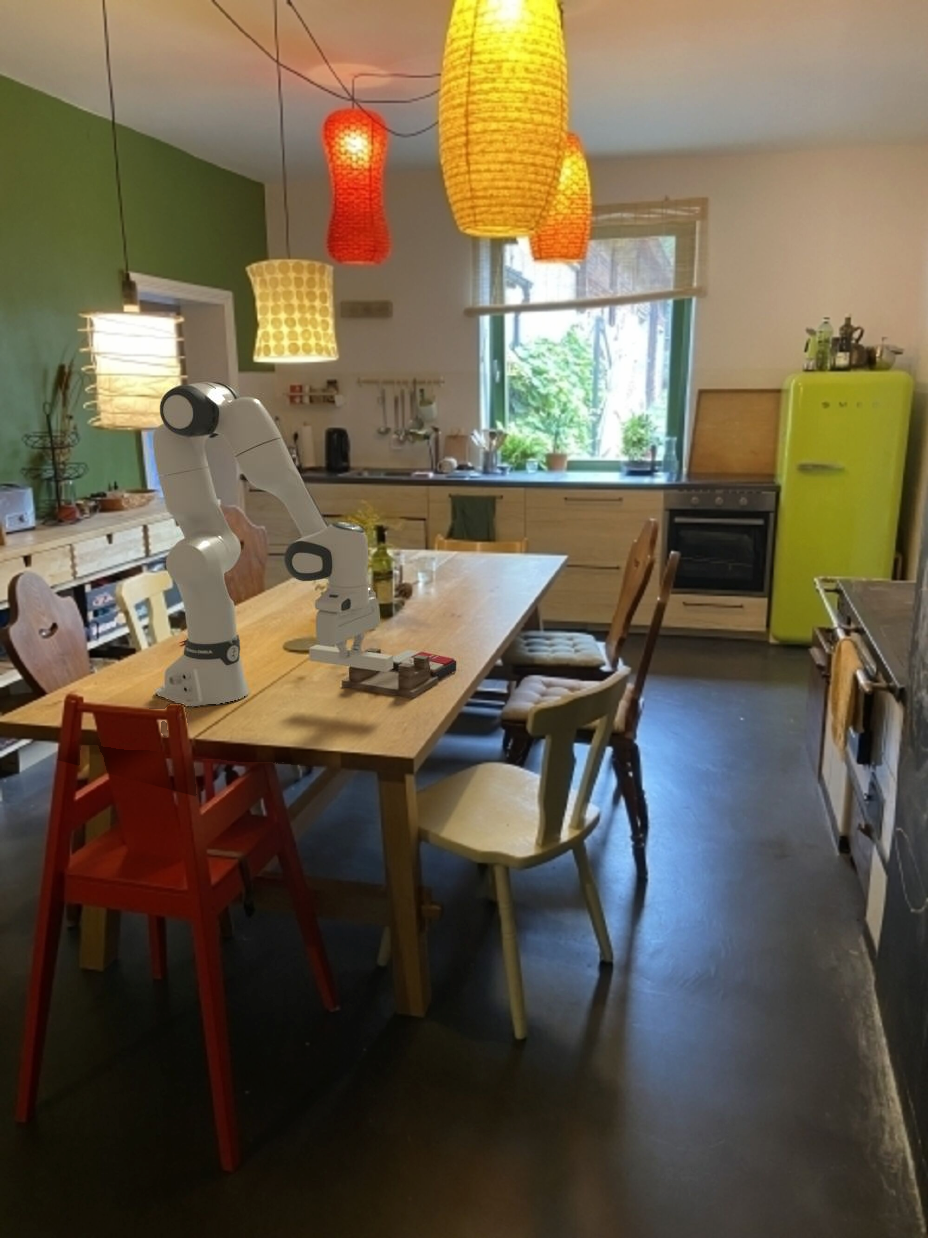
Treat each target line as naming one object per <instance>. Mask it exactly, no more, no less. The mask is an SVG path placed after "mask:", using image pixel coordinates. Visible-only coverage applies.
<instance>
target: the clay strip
mask: <svg viewBox="0 0 928 1238" xmlns="http://www.w3.org/2000/svg"><path fill="white" fill-rule="evenodd" d="M308 650H309V651H308V652H309V653H308V654H309V662H317V663H323V664H331V665H335V666H337V665H338V666H342V667H343V666H344V667H348V668H349V667H356V668H363V669H369V670H376V671H383V672H388V671H389V670H391V669H393V657H394V655H392V654H387V653H381V654H380V653H372V652H365V650H364V651H363V650H361V651H358V650H351V648H347V650H350V657H349V658H346V659H341V658H340V655H339V650H338V648H337V646H332V647H329V646H323V645H320V644H315V645H312V646H311V647H309V648H308Z"/></svg>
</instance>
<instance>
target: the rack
mask: <svg viewBox="0 0 928 1238" xmlns="http://www.w3.org/2000/svg"><path fill="white" fill-rule="evenodd" d="M364 651H365V652H372V653H380V654H382V653H381V651H382V650H381V649H380V648H373V647H369V648H367V649H365V650H364ZM437 684H439V680H438V677H433V676H430V661H429V656H423V655H417V656H415V657H414V664H409V663H402V664H400V665H398V671H395V670H389V671H388V672H383V671H376V670H369V669H363V668H356V667H349V666H348V677H346V678H343V679H342V680H341V686H342V687H344V688H349V689H351V688H352V689H355V690H362V691H368V692H374V693H378V694H379V693H380V694H384V695H385V694H386V695H392V696H397V697H404V698H410V699H414V698H416V697H417V696H419V695H421V694H423V693H425V692H426V691H427V690H429V689H430V688H432V687H435V685H437Z"/></svg>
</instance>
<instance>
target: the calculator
mask: <svg viewBox="0 0 928 1238" xmlns="http://www.w3.org/2000/svg"><path fill="white" fill-rule="evenodd" d="M417 655H423V656H429V661H430V676H433V677H438V681H441V680H442V679H444V678H446V677H448V676H449V675H451V674H453V673H454V671H455V670H456V671H457V660H455V659H454V658H453V657H449V656H444V655H438V654H433V653H430V652H425V651H417V650H412V649H407V650H404V651H403V652H400V653H398V654H396V655H393V669H391V670H395V671H398V665H400V664H402V663H409V664H414V657H415V656H417ZM456 671H455V672H456ZM452 672H453V673H452ZM450 673H451V674H450ZM445 676H446V677H445Z"/></svg>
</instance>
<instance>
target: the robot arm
mask: <svg viewBox="0 0 928 1238" xmlns="http://www.w3.org/2000/svg"><path fill="white" fill-rule="evenodd" d="M159 414H160V418H161V421H162V424H160V425H158V426H157V427H156V428H155V430H154V431H153V433H152V447H153V448H152V449H153V457H154V462H155V463H154V464H155V466H156V467H155V468H156V473H157V476H158V481H159V484H160V489H161V492H162V496H163V499H164V502H165V507H166V509H167V512H168V513H169V515H171V516H172V517H173V518H174V520H175V521H176V523H177V525H178V526H179V529H180V530H181V533H182V535H183V538H182V539H180V540H178V542H176V544H175V545H174V546H172V548H171V549H170V551H169V552H168V554H167V556H166V560H165V565H166V566H165V567H166V572H167V573H168V575H169V577H170V578H171V579H172V581H173V582H175V584H176V586H177V589H178V591H179V595H180V597H181V600H182V603H183V609H184V612H185V613H184V614H185V622H186V630H187V638H186V639H185V640H182V641H179V643H178V644H180V645H179V647H180V648H181V647H184V648H183V654H182V655H180V656H179V657H178V658H177V659H176V660H175V661H174V662H172V663H171V664H170V665H169V666H168V667H167V668H166V670H165V672H164V684H163V685H161V686H159V687H158V688H157V689H156V690H155V691H154V695H155V694H157V695H160V696H163V697H165V698H168V699H171V700H174V701H175V702H174V703H176V704H178V703H184V705H185V707H187V706H186V705H188V706H198V705H203V706H205V705H204V704H216V705H221V704H220V703H223V704H226V703H225V702H229V703H231V702H230V701H233V702H235V701H234V700H236V701H239V700H241V699H243V698H244V696H245V697H246V696H248V695H249V693H250V690H249V687H248V682H247V679H246V678H245V674H244V667H243V663H242V658H241V655H240V654H241V640H240V636H239V634H238V632H237V631H238V630H237V629H238V628H237V621H236V620H237V619H236V618H237V617H236V608H235V602H234V601H233V599H232V598H231V597H230V595H229V593H228V589H227V586H226V581H225V573H227V572H228V571H230V570H231V569H233V568H234V566H235V565H236V564H237V562H238V560H239V557H241V553H242V545H241V541H240V540H239V538H238V537H237V535H236V534H235V532H233V531H232V529H231V528H230V525H229V522H228V521H227V519H226V517H225V515H224V513H223V510H222V508H221V506H220V503H219V501H218V498H217V495H216V490H215V486H214V483H213V482H214V481H213V477H212V474H211V469H210V466H209V464H208V463H209V462H208V459H207V456H206V455H207V454H206V449H205V447H206V445H205V444H206V441H207V440H208V438H210V439H213V438H216V437H217V436H219V435H220V436H221V437H222V438H223V439H225V441H226V442H227V444H228V446H229V448H230V451H231V452H232V455H233V457H234V458H235V462H236V464H237V465H238V468H239V469H240V471H241V473H242V474H243V476H244V478H246V480H247V481H248V482H249V484H250V485H251V486H253V487H255V488H257V489H259V490H262V491H265V492H267V493H269V494H271V495H273V496H275V497H276V498H278V499H279V500H280V501H281V502H282V503H283V504H284V505H285V507H286V509H287V510H288V513H289V514H290V517H291V519H292V520H293V522H294V523H295V526H296V528H297V529H298V531H299V533H300V535H301V537H300V538H299V539H297V540H295V541H292V543H291V544H290V545H289V546H288V547H287V548H286V550H285V553H284V559H283V560H284V566H285V568H286V570H287V572H288V573H289V574H290V576H291V577H293V578H294V579H296V580H298V581H301V582H312V581H318V580H324V579H325V580H327V582H328V588H327V589H326V590H325V591H324V592H323V593H322V594H321V595H320V596H319V597H318V598H317V599H315V601H314V608H315V610H318V611H317V613H316V616H315V635H316V636H315V637H316V642H317V643H318V645H322V646H329V647H337V648H338V650H339V655H340V658H341V659H346V658H349V657H350V650H347V649H348V648H347V646H346V645H347V644H348V640H351V639H352V638H353V642H352V644H351V646H350V649H351V650H358V651H362V645H363V641H364V639H365V633H367V632H368V631H371V630H374V629H376V628H378V627H379V626H380V623H381V612H380V611H381V610H380V603H379V600H378V598H377V593H376V592H375V590H374V589H372V588H370V583H369V580H370V579H369V577H368V566H369V550H368V549H369V547H368V540H367V535H366V532H365V530H364V528H363V527H361V526H359V525H358V524H356V523H352V522H347V521H335V522H332V523H330V525H329V524H328V522H327V521H326V519H325V518H324V516H323V514H322V511H320V509H319V507H318V505H317V503H316V501H315V499H314V497H313V496H312V494H311V492H310V489H309V488H308V487H307V485H306V483H305V481H304V479H303V478H302V476H301V474H300V472H299V470H298V468H297V467H296V464H295V463H294V460H293V458H292V457H291V454H290V452H289V450H288V447H287V445H286V443H285V441H284V439H283V436H282V435H281V433H280V430H279V429H278V427H277V424H276V423H275V421H274V419H273V418H272V416H271V415H270V413H269V412H268V410H267V409H266V408H265V406H264V405H263V403H262V402H261V401H260V400H259V399H257V398H255V397H251V396H243V397H240V396H239V394H238V393H237V392H236V391H235V390H234V389H233V388H232V387H230V386H228V385H227V384H225V383H221V382H216V381H213V382H209V381H202V382H201V381H199V382H198V381H197V382H194V383H190V384H180V385H177V386H175V387H172V388H171V389H169V390H167V392H166V393H165V394H164V395H163V397H162V398H161V401H160V404H159ZM238 699H239V700H238ZM184 705H183V706H184ZM198 707H199V706H198Z"/></svg>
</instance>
